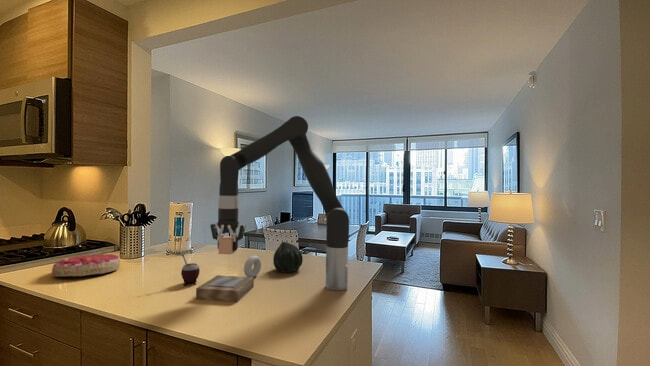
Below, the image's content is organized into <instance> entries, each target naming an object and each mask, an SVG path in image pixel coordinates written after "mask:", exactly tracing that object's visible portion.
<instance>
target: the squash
mask: <svg viewBox="0 0 650 366" xmlns="http://www.w3.org/2000/svg"><path fill="white" fill-rule="evenodd" d="M303 260H304V259H303V254H302V252H301V250H300V249H299V247H298V246H295V245H294V244H291V243H290V242H286V241H282V242H281V243H280V244H279V246H278V247H277V248H276V250H275V252H274V253H273V266H274V268H275V269H276V270H277V271H278V272H282V273H287V272H288V273H293V272H294V271H296V270H299V268H300V267H301V266H302V264H303Z"/></svg>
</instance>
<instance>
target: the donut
mask: <svg viewBox="0 0 650 366" xmlns="http://www.w3.org/2000/svg"><path fill="white" fill-rule="evenodd" d="M261 268H262V261H261V258H260V257H259V256H257V255H251V256H249V257H247V259H246V261H245V263H244V267H243V273H244V275H245V277H254V278H256V277H257V275H259V273H260V271H261Z"/></svg>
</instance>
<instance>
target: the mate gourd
mask: <svg viewBox="0 0 650 366" xmlns="http://www.w3.org/2000/svg"><path fill="white" fill-rule="evenodd" d="M175 250H176V251H177V252H178V253H180V255H181V257H182V258H183V261H184V265H183V267H182V268H181V273H180V274H181V278H182V280H183V287H186V285H187V286H189V285H192V284H193V286H196V285H197V282H198V281H197V280H198V278H199V276H200V266H199V265H198V264H197V263H196V262H195V263H193V262H192V263H191V262H190V263H187V260H186V257H185V254H184V253H183V252H182V251H181V250H180V249H175ZM188 284H189V285H188Z"/></svg>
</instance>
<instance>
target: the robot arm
mask: <svg viewBox="0 0 650 366" xmlns="http://www.w3.org/2000/svg"><path fill="white" fill-rule="evenodd" d="M308 123H309V122H308V121H307V119H305V118H304V117H303V116H302V115H293V116H291V117H290V118H289V119H287V120H286V121H285V122H284V123H282V124H281V125H280V126H279V127H277V128H276V129H274V130H272V131H271V132H269V133H268V134H265V135H264V136H262V137H260V138H258V139H257V140H254V141H253V142H251V143H249V144H247V145H245V146H244V147H242V148H241V149H240V150H238V151H236V152H234V153H232V154H229V155H226V156H223V157H222V159H221V160H220V162H219V174H220V175H219V177H220V183H219V192H218V195H219V197H218V204H217V206H218V210H217V218H218V220H217V222H216V223H211V224H210V231H211V235H212V239H213V240H216V241H217V250H219V238H221V237H224V236H226V233H227V234H230V236H232V238H233V251H236V252H237V250H238V248H239V241H241V240H242V239H243V238H244V235H245V231H246V230H245V229H246V224H241V223H240V222H239V204H240V203H239V173H240V170H241V169H243V168H245V167H246V166H248V165H251V164H252V163H255V162H257V161H258V160H260V159H262V158H264V157H265V156H267V155H268V154H269V153H271V152H272V151H273V150H275V149H277V147H280V146H281V145H283V144H284V143H286V142H288V143H289V144H290V145H291V146H292V148H293V150H294V152H295V153H296V156H297V159H298V161H299V163H300V166H301V168H302V171H303V173H304V175H305V178H306V180H307V181H308V184H309V185H310V187H311V189H312V191H313V192H314V194H315V195H316V197H317V198H318V200H319V202H320V204H321V206H322V208H323V211H324V214H325V217H326V237H325V238H326V239H325V240H326V241H325V242H326V248H325V249H326V250H325V255H326V256H325V288H326V289H327V290H331V291H346V290H348V286H349V280H348V279H349V239H350V237H349V236H350V216H349V214H348V213H347V211H346V210H345V208H344V206H343V205H342V203H341V202H340V200H339V198H338V196H337V195H336V191H335V189H334V188H335V187H334V185H333V181H332V180H331V177H330V174H329V172H328V169H327V168H326V166H325V164H324V162H323V161H322V159H321V157H319V156H318V154H317V153H316V152H315V150H313V148H312V146H311V144H310V141H309V139H308V136H307V133H308V131H309V124H308ZM218 229H219V231H218ZM237 229H238V230H239V231H238V232H237Z"/></svg>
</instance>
